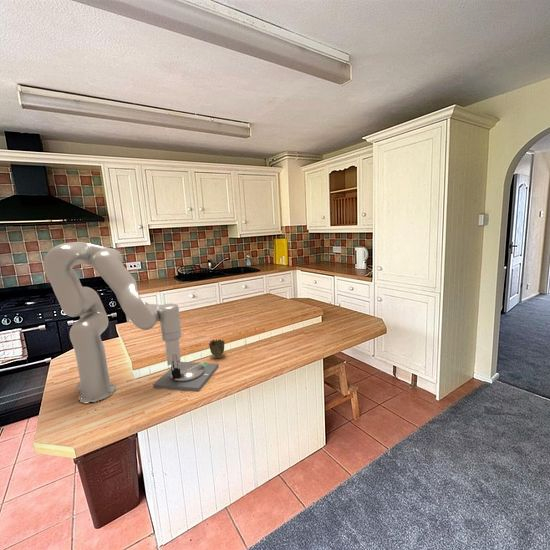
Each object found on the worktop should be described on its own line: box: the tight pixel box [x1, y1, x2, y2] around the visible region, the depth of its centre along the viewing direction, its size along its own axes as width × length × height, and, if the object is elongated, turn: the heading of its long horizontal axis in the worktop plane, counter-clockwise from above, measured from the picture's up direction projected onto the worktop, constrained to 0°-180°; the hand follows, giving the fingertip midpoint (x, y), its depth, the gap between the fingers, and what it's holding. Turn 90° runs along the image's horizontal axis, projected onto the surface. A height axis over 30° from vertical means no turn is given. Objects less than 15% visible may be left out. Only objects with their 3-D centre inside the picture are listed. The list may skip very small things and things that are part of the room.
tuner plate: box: [152, 361, 220, 392], centre depth 126 cm, size 20×20×2 cm
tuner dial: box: [170, 360, 207, 382], centre depth 126 cm, size 17×14×7 cm
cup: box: [208, 339, 225, 360], centre depth 143 cm, size 8×7×8 cm
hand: (176, 375), depth 122 cm, fingers closed on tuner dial, 2 cm apart
